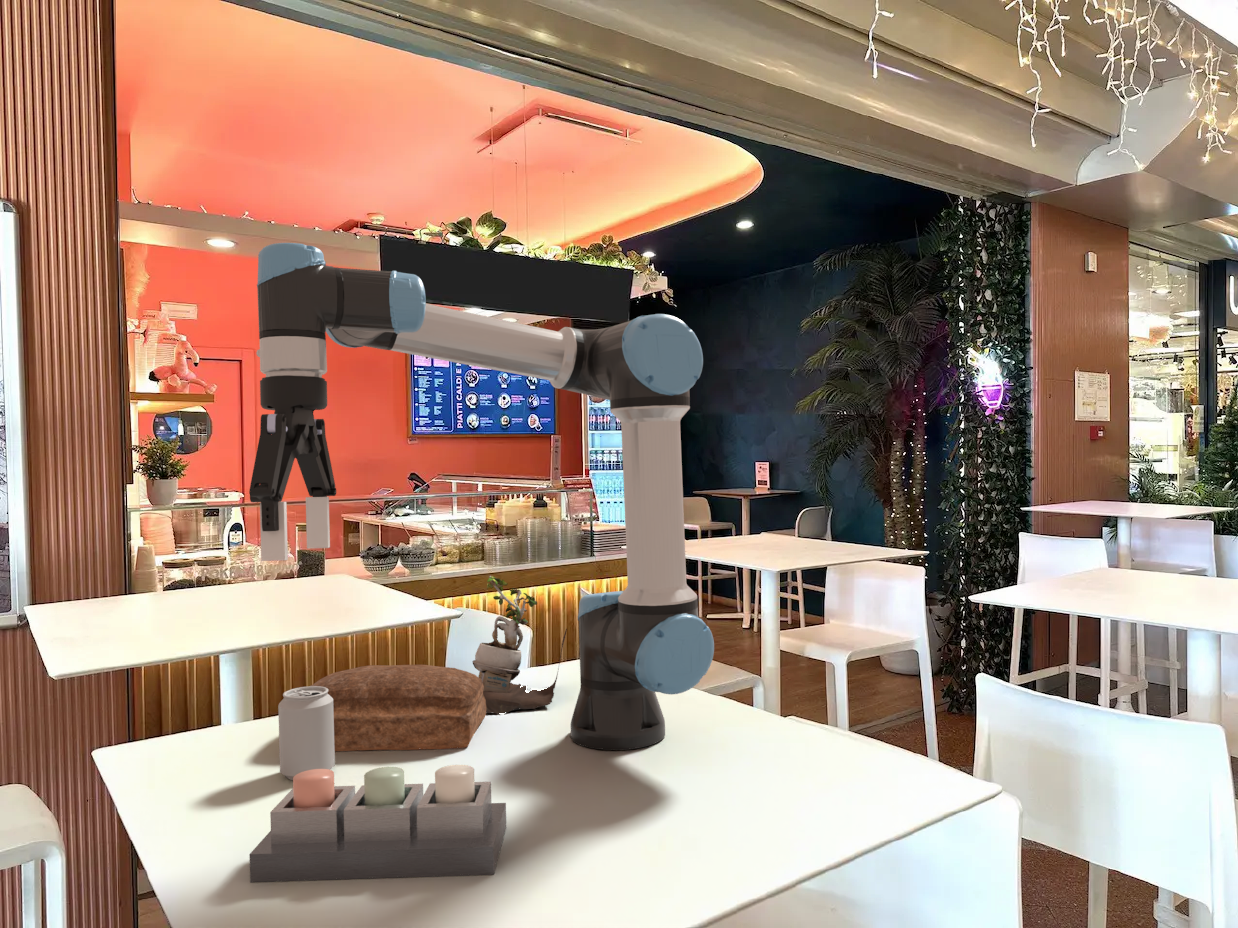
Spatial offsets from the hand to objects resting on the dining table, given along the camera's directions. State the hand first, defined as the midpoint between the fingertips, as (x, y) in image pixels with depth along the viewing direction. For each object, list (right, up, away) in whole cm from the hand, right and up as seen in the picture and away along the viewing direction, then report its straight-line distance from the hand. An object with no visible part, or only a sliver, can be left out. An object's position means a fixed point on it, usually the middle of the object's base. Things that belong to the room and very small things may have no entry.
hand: (297, 554), depth 105 cm
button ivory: (+20, -29, -5) cm, 35 cm away
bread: (+1, -34, +39) cm, 51 cm away
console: (+12, -34, -5) cm, 36 cm away
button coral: (+4, -29, -5) cm, 30 cm away
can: (-6, -34, +22) cm, 41 cm away
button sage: (+12, -29, -5) cm, 32 cm away
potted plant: (+18, -33, +59) cm, 70 cm away
